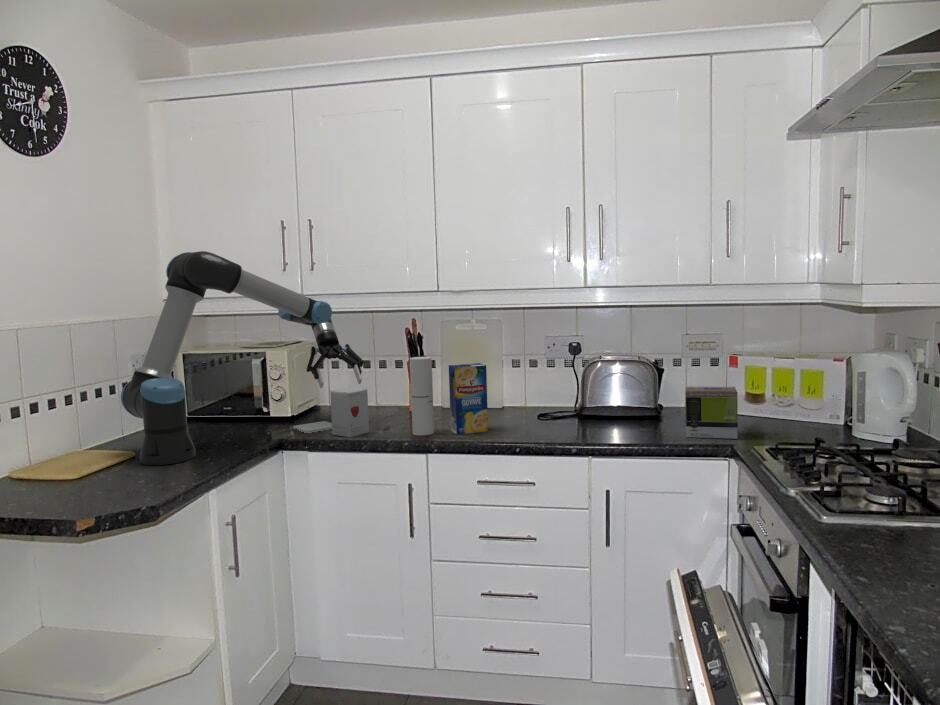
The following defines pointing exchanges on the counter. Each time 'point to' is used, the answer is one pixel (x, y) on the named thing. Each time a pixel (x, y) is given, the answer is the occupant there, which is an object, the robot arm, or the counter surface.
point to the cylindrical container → (422, 395)
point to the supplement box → (349, 412)
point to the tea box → (711, 412)
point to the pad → (314, 427)
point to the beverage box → (468, 398)
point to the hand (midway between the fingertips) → (341, 383)
